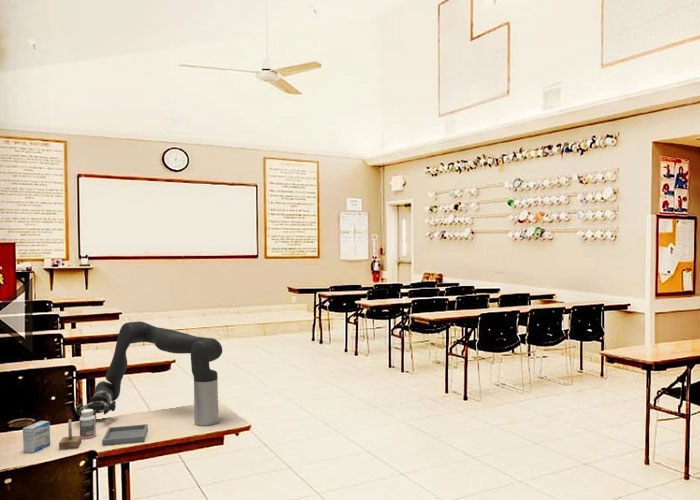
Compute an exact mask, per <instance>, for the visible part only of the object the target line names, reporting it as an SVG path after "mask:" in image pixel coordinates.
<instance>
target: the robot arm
mask: <svg viewBox="0 0 700 500" xmlns="http://www.w3.org/2000/svg"><path fill="white" fill-rule="evenodd" d="M137 343H151V344H154V345H155V347H156V348H157V349H158V350H160V351H163V352H166V353H171V354H183V355H184V354H190V365H191V366H190V367H191V373H192V376H193V403H194V404H193V405H194V406H193V408H194V415H193V416H194V418H193V419H194V424H195V426H196V425H197V426H201V427H202V426H203V427H204V426H212V425H214V424H219V391H218V390H219V389H218V388H219V386H218V383H219V381H218V372H217V370H214V369H211V368H210V362H213V361H216V360H217V359H219V358H220V357H221V355H222V354H223V347H222V344H221V343H220V342H219V340H217V339H215V338H212V337H203V336H202V337H201V336H195V335H192V334H188V333H185V332H181V331H178V330H174V329H170V328H169V329H168V328H165V327H158V326H154V325H152V324H149V323H147V322H145V321H129V322H125V323H124V324H122V325H121V327H120V329H119V333H118V335H117V340H116V344H115V348H114V352H113V355H112V356H113V357H112V360H111V362H110V364H109V366H108V369H107V370H106V374H105V379H106V381H102V380H101V381H100V382H98V383H97V385H96V386H95V388H94V395H93V396H92V397H91V398H90V399H89V402H88V403H86V404H83V403H79V404H78V405H77V406H76V407H75V414H76V415H78V416H80V417H82V415H81V411H83V410H86V409H93V414H94V413H95V414H102V413H103V415H107V414H109V412H110V411H111V412H115V411H116V408H117V406H116V402H117V401H116V400H117V399H118V398H119V397H120V394H121V384H122V381H123V378H124V375H125V373H126V371H127V368H128V359H127V351H128V348H129V346H130V345H131V344H137Z"/></svg>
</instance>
